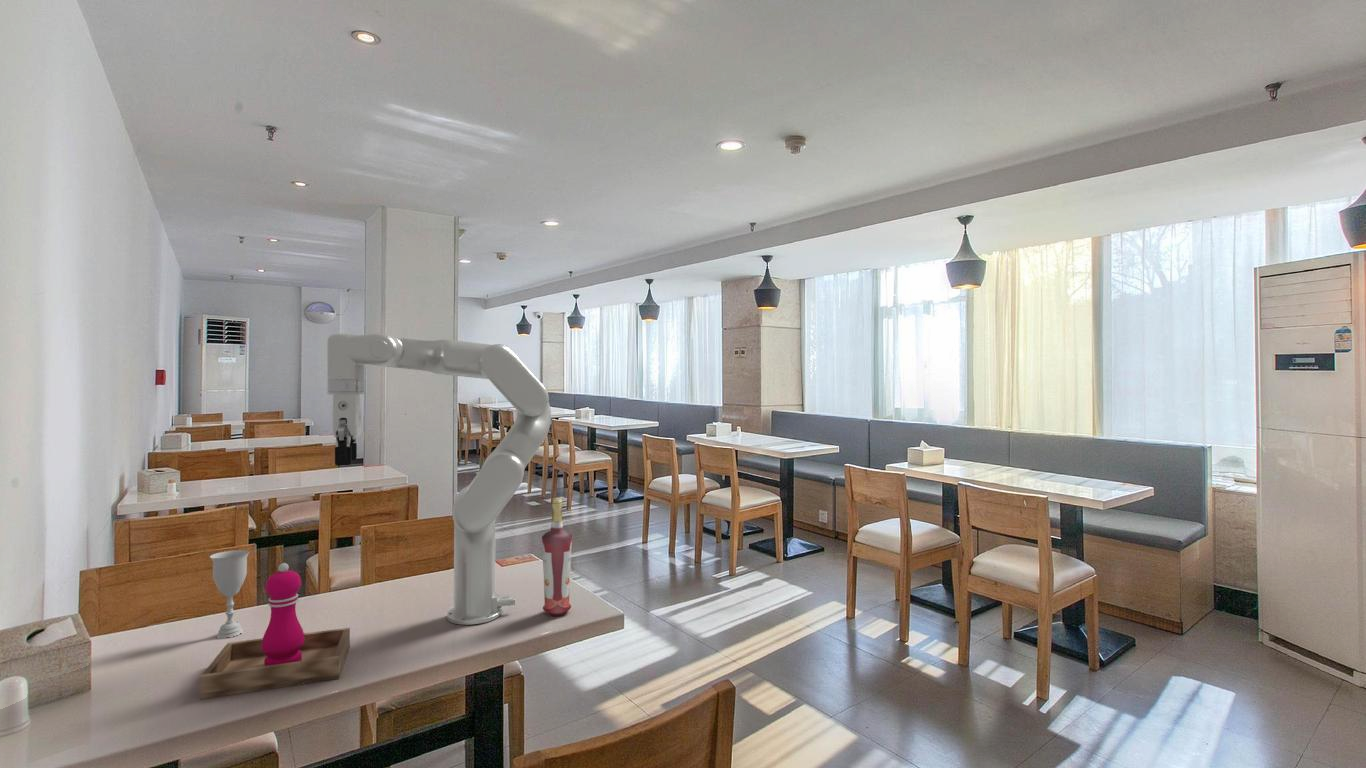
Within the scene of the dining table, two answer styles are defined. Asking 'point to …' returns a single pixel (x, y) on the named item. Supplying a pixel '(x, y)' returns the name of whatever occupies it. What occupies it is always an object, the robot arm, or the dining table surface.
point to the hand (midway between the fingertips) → (346, 462)
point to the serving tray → (247, 673)
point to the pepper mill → (283, 619)
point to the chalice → (229, 584)
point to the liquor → (556, 563)
